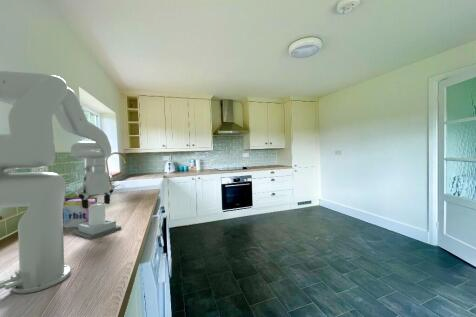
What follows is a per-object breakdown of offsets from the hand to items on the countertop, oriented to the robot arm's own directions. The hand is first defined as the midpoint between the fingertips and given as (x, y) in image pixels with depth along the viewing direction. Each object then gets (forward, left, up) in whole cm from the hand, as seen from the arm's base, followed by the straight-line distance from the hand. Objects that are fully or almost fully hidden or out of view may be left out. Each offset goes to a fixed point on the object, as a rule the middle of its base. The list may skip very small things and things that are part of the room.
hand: (96, 205), depth 98 cm
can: (0, 0, -11) cm, 11 cm away
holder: (0, 0, -12) cm, 12 cm away
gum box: (0, +22, -13) cm, 26 cm away
